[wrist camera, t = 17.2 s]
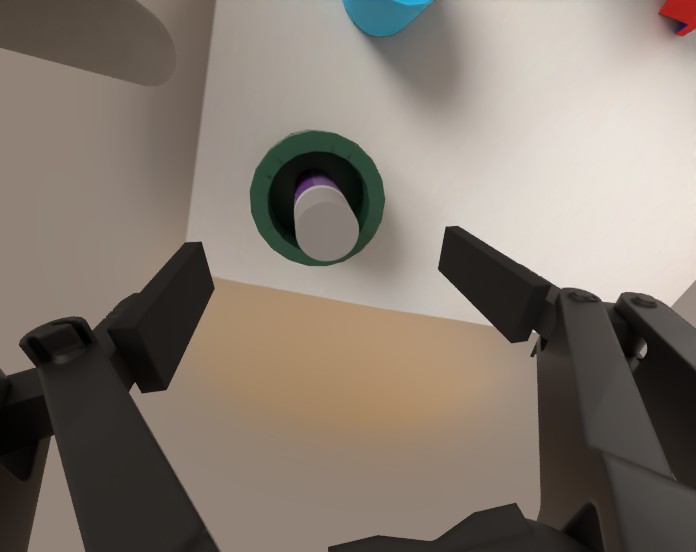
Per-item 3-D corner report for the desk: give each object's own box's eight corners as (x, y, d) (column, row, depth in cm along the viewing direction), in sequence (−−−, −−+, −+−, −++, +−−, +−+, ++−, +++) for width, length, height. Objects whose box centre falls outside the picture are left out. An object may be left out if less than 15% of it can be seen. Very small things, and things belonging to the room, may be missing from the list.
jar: (240, 194, 32) (222, 215, 24) (305, 102, 29) (308, 94, 21) (321, 252, 37) (328, 286, 29) (383, 181, 34) (409, 198, 26)
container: (286, 183, 31) (279, 224, 18) (320, 159, 30) (338, 184, 18) (309, 216, 33) (318, 274, 20) (342, 195, 33) (372, 240, 20)
